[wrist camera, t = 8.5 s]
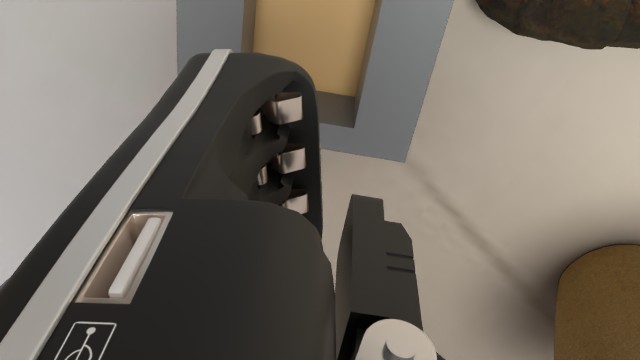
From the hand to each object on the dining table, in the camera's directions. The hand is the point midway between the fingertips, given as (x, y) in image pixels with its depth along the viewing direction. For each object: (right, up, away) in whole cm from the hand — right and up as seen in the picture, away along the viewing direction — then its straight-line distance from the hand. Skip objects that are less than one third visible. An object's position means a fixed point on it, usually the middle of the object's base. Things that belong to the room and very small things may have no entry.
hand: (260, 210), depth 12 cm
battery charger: (0, +1, +2) cm, 2 cm away
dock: (+1, +10, +14) cm, 17 cm away
